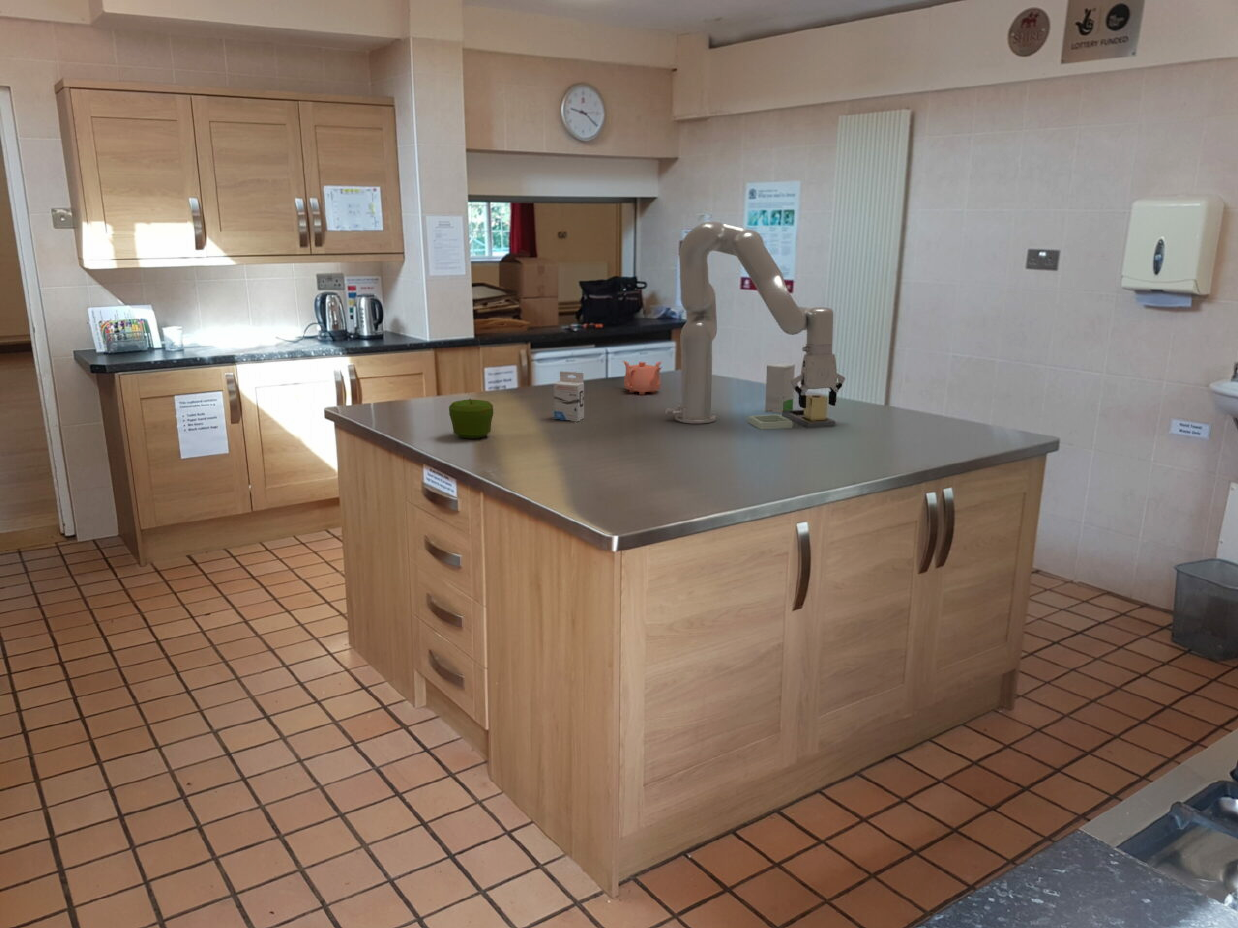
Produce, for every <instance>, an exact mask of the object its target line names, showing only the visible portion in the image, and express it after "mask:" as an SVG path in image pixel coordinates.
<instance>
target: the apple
mask: <svg viewBox="0 0 1238 928" xmlns="http://www.w3.org/2000/svg"><path fill="white" fill-rule="evenodd" d="M448 413H449V417H450V420H451V424H452V431H453V434H454V435H456V436H458V437H460V438H461V439H480V437H481V438H483V436H484V437H485V436H486V435H488V434H489V433H491V429H492V421H493V417H494V405H493V404H492V403H491V402H490V401H488V400H480V399H471V398H469V399H462V400H461V399H460V400H456V401H453V402H452V403H451V404H450V405H449V406H448Z"/></svg>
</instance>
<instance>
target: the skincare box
mask: <svg viewBox="0 0 1238 928" xmlns="http://www.w3.org/2000/svg"><path fill="white" fill-rule="evenodd" d="M795 365H796V364H795V363H783V362H781V363H780V362H777V363H771V364H766V382H765V383H766V385H765V407H764V408H765V409H764V410H765V411H764V413H774V414H779V415H782V411H786V410H794V393H795V390H794V388H793V386H792V384H791V380H793V379H794V378H795V368H796V366H795Z"/></svg>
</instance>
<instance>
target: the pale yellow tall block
mask: <svg viewBox="0 0 1238 928" xmlns="http://www.w3.org/2000/svg"><path fill="white" fill-rule="evenodd" d="M805 395H806V408H803V409H804V419H805V420H808V421H810V422H812V421H826V417H827V415H828V414H827V411H828V397H826V396H825V395H822V394H808V395H807V394H805Z"/></svg>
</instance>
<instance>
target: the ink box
mask: <svg viewBox="0 0 1238 928" xmlns="http://www.w3.org/2000/svg"><path fill="white" fill-rule="evenodd" d="M570 376H572V377H570ZM553 400H554V401H553V411H554V412H553V417H554V418H553V420H554V419H561V420H560V421H563V420H571V421H570V422H573V421H579V422H580V420H581V421H582V419H583V418H584V419H585V382H584V372H577V371H559V381H556V382H553ZM584 419H583V420H584Z"/></svg>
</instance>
